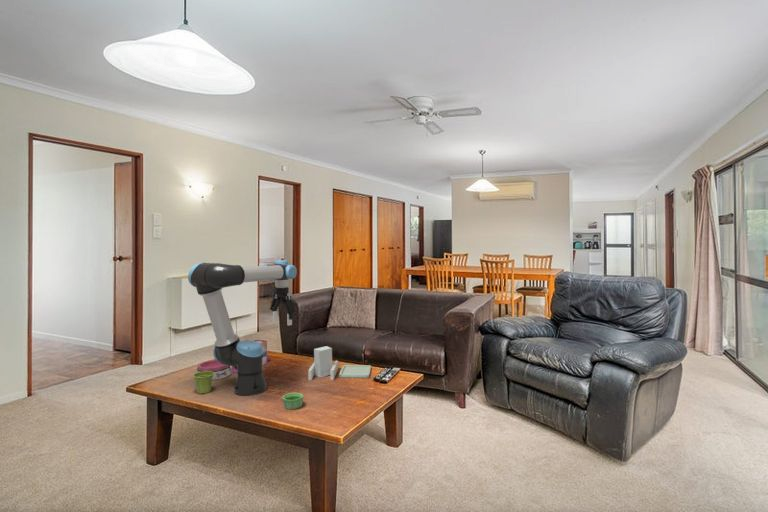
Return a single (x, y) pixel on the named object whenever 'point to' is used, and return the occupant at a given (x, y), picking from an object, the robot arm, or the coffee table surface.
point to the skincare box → (323, 361)
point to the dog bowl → (215, 369)
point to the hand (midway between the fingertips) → (282, 323)
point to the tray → (355, 371)
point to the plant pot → (203, 381)
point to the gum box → (264, 354)
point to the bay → (332, 372)
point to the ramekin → (292, 400)
